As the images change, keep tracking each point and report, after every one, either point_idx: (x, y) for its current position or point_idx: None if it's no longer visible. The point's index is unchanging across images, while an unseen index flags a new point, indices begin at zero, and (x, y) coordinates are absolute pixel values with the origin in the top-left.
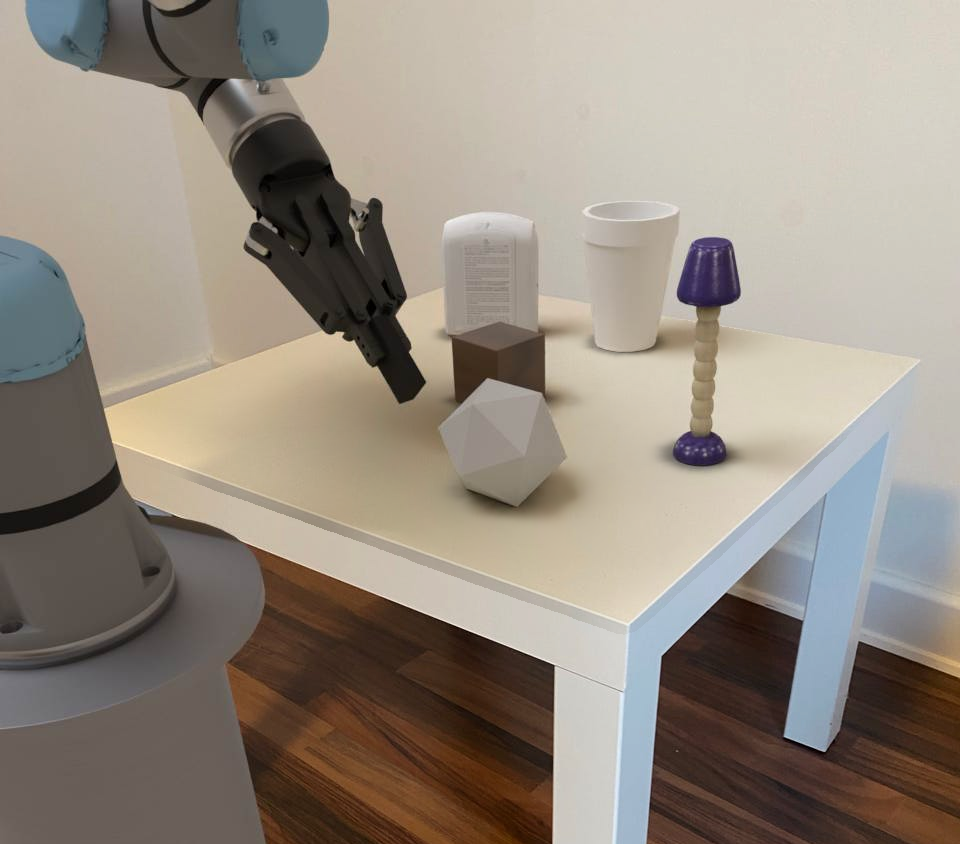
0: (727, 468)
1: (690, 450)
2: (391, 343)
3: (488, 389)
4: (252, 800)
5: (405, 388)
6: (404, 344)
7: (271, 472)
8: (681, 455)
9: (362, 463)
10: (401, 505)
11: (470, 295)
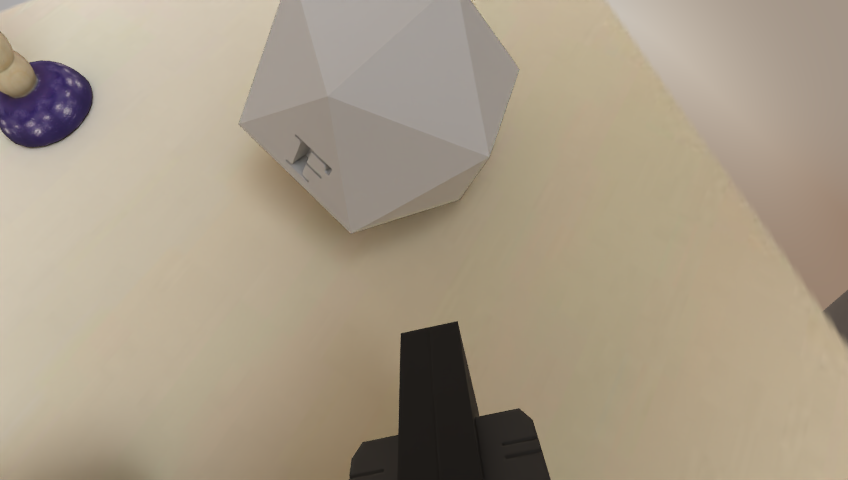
0: (63, 54)
1: (72, 76)
2: (450, 412)
3: (372, 35)
4: (840, 319)
5: (465, 357)
6: (382, 451)
7: None
8: (84, 95)
9: (603, 450)
10: (605, 203)
11: None
